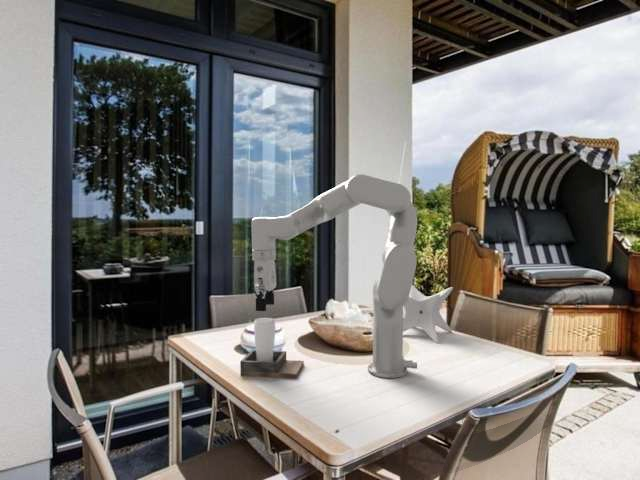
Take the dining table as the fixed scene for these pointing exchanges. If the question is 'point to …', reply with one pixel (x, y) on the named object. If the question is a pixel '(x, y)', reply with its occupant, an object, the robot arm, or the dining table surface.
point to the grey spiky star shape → (425, 312)
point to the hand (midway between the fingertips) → (265, 307)
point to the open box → (270, 366)
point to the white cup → (264, 338)
